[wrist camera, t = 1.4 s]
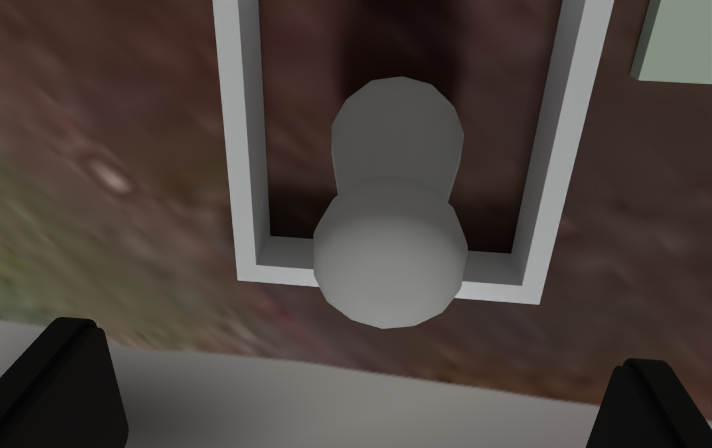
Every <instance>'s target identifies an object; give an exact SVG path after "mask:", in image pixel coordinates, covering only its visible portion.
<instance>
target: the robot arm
mask: <svg viewBox="0 0 712 448" xmlns="http://www.w3.org/2000/svg"><path fill="white" fill-rule="evenodd" d="M128 431H129V429H128V423H127V419H126V415H125V411H124V408H123V404H122V400H121V396H120V392H119V388H118V384H117V380H116V376H115V372H114V368H113V364H112V360H111V356H110V352H109V348H108V344H107V340H106V336H105V333H104V330H103V329H102V328H97V325H96V323H95V322H94V321H93V320H91V319H82V318H68V317H59V318H56V319H55V320H54V321H53V322H52V323H51V324H50V325H49V326H48V327H47V328H46V329H45V330H44V331H43V332H42V333H41V334H40V336H39V337H38V338H37V339H36V340H35V341H34V342H33V343H32V344H31V345H30V346H29V347H28V348H27V349H26V351H25V352H24V353H23V354H22V355H21V356H20V357H19V358H18V359H17V360H16V361H15V363H14V364H13V365H12V366H11V367H10V368H9V369H8V370H7V371H6V372H5V373H4V374H3V375H2V377H1V378H0V448H124V447H125V445H126V442H127V438H128ZM586 448H712V429H711V428H710V426H709V425H708V423H707V422H706V420H705V419H704V417H703V415H702V414H701V412H700V411H699V409H698V408H697V406H696V405H695V403H694V402H693V400H692V399H691V397H690V396H689V394H688V393H687V391H686V390H685V388H684V387H683V385H682V384H681V382H680V381H679V379H678V378H677V376H676V374H675V373H674V371H673V370H672V368H671V367H670V366H669V365H668V364H667V363H666V362H664V361H662V360H649V359H635V358H629V359H627V360H626V361H625V362H624V364H623V366H616V367H615V368H614V370H613V373H612V376H611V378H610V381H609V384H608V387H607V390H606V392H605V395H604V398H603V401H602V403H601V406H600V409H599V412H598V415H597V417H596V420H595V423H594V426H593V429H592V431H591V434H590V437H589V440H588V443H587V445H586Z"/></svg>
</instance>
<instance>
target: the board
mask: <svg viewBox="0 0 712 448" xmlns="http://www.w3.org/2000/svg"><path fill="white" fill-rule="evenodd" d="M630 76H632V77H633V78H635V79H637V80H645V81H664V82H684V83H703V84H712V0H650V2H649V6H648V10H647V13H646V17H645V20H644V24H643V28H642V31H641V35H640V39H639V42H638V46H637V49H636V53H635V57H634V60H633V64H632V67H631V71H630Z"/></svg>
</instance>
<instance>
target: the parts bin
mask: <svg viewBox="0 0 712 448" xmlns="http://www.w3.org/2000/svg"><path fill="white" fill-rule="evenodd" d="M613 3H614V0H563V1H562V6H561V11H560V16H559V21H558V26H557V31H556V36H555V41H554V46H553V51H552V56H551V60H550V65H549V70H548V75H547V80H546V85H545V90H544V95H543V100H542V105H541V110H540V115H539V119H538V124H537V129H536V134H535V139H534V144H533V149H532V154H531V159H530V164H529V169H528V174H527V178H526V183H525V188H524V193H523V198H522V203H521V208H520V213H519V218H518V223H517V228H516V233H515V237H514V242H513V247H512V252H511V254H507V253H494V252H480V251H467V258H466V264H465V269H464V274H463V280H462V285H461V289H460V291H459V292H458V293H457V294H456V296H455V297H454V298H464V299H477V300H489V301H501V302H514V303H526V304H539V303H540V299H541V295H542V291H543V287H544V283H545V279H546V275H547V271H548V267H549V262H550V258H551V254H552V250H553V246H554V242H555V238H556V234H557V230H558V226H559V222H560V218H561V214H562V210H563V206H564V202H565V198H566V193H567V189H568V185H569V181H570V177H571V173H572V169H573V165H574V161H575V157H576V153H577V149H578V145H579V141H580V137H581V133H582V129H583V124H584V120H585V116H586V112H587V108H588V104H589V100H590V96H591V92H592V88H593V84H594V80H595V76H596V72H597V68H598V64H599V60H600V55H601V51H602V47H603V43H604V39H605V35H606V31H607V27H608V23H609V19H610V15H611V11H612V7H613ZM213 10H214V21H215V32H216V43H217V54H218V65H219V76H220V88H221V99H222V110H223V121H224V132H225V143H226V154H227V166H228V177H229V188H230V199H231V210H232V221H233V232H234V243H235V255H236V266H237V277H238V280H241V281H253V282H266V283H278V284H291V285H303V286H315V287H319V285H318V283H317V281H316V279H315V277H314V239H306V238H292V237H279V236H270V218H269V199H268V179H267V160H266V140H265V121H264V102H263V82H262V63H261V44H260V24H259V5H258V0H213Z"/></svg>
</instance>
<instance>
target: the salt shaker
mask: <svg viewBox="0 0 712 448" xmlns="http://www.w3.org/2000/svg"><path fill="white" fill-rule="evenodd" d="M463 140H464V132H463V129H462V127H461V124H460V121H459V118H458V116H457V113H456V110H455V107H454V106H453V105H452V104H451V103H450V102H449V101H448V100H447V99H446V98H445V97H444V96H443V95H442V94H441V93H440V92H439V91H438V90H437V89H436V88H435V87H434V86H433V85H431V84H428V83H425V82H421V81H417V80H414V79H410V78H406V77H403V76H401V77H393V78H386V79H379V80H372V81H370V82H369V83H368V84H366V85H365V86H364V87H362V88H361V89H360V90H358V91H357V92H356V93H354V94H353V95H352V96H350V97H349V98H348V99H346V101H345V102H344V104H343V106H342V108H341V110H340V111H339V113H338V115H337V117H336V119H335V120H334V122H333V124H332V160H333V166H334V172H335V179H336V185H337V192H338V196H336V197H335V198H333V200H332V202H331V203H330V205H329V207H328V208H327V210H326V212H325V213H324V215H323V217H322V219H321V220H320V222H319V224H318V226H317V228H316V230H315V232H314V234H313V239H314V277H315V279H316V281H317V283H318V285H319V287H320V289H321V291H322V293H323V294H324V296H325V298H326V300H327V302H328V303H330V304H331V305H333V306H334V307H335V308H337V309H338V310H339V311H341V312H342V313H343V314H345V315H346V316H347V317H349V318H350V319H351V320H354V321H358V322H361V323H365V324H368V325H371V326H375V327H378V328H382V329H385V328H396V327H406V326H415V325H417V324H419V323H421V322H423V321H425V320H427V319H429V318H432V317H434V316H436V315H438V314H440V313H442V312H443V311H444V310H445V308H446V307H447V306H448V305H449V303H450V302H451V301H452V299H453V298H454V297H455V296H456V294H457V293H458V292H459V291H460V289H461V285H462V280H463V274H464V269H465V264H466V258H467V251H468V245H467V242H466V239H465V236H464V234H463V231H462V228H461V226H460V223H459V221H458V218H457V216H456V213H455V211H454V208H453V207H452V206H451V205H450V204H449V203H448V201H449V197H450V193H451V190H452V187H453V184H454V180H455V177H456V174H457V170H458V167H459V164H460V158H461V152H462V146H463Z"/></svg>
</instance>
